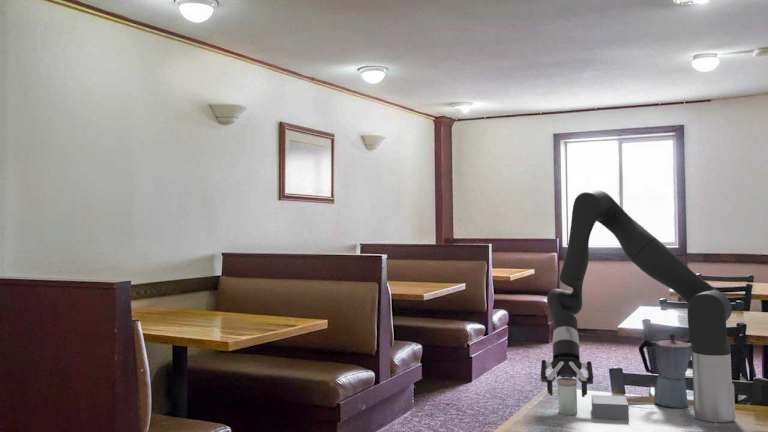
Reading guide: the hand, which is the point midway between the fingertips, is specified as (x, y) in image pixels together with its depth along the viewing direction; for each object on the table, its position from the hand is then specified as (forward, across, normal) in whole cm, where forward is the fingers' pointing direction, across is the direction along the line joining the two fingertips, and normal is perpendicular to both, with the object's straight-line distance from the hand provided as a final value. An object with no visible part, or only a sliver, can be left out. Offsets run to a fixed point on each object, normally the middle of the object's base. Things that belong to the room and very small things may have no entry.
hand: (567, 395), depth 182 cm
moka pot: (-6, +28, +14) cm, 32 cm away
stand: (+3, +11, +4) cm, 12 cm away
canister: (+3, 0, +4) cm, 5 cm away
